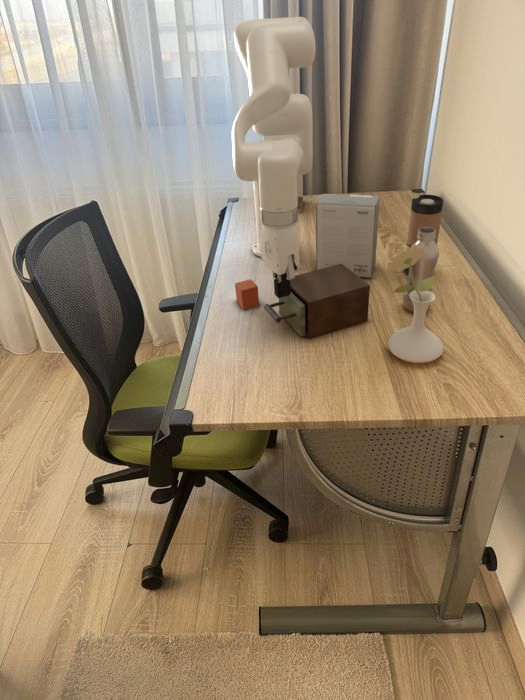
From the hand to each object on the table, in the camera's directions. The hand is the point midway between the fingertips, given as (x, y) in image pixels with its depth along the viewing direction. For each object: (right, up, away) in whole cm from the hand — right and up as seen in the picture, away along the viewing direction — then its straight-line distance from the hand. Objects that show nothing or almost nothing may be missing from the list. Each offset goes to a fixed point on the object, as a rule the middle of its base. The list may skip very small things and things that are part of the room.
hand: (282, 295), depth 114 cm
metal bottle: (+33, -2, +10) cm, 34 cm away
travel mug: (+38, +9, +25) cm, 46 cm away
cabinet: (+11, -4, +9) cm, 15 cm away
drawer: (+6, -5, +7) cm, 11 cm away
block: (-8, -1, +16) cm, 18 cm away
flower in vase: (+27, -13, -4) cm, 30 cm away
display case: (+4, +39, +71) cm, 81 cm away
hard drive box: (+19, +10, +28) cm, 35 cm away
